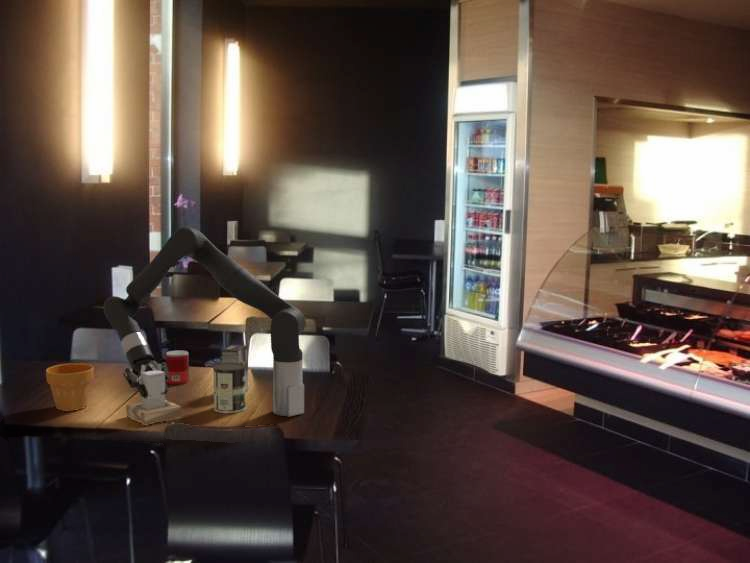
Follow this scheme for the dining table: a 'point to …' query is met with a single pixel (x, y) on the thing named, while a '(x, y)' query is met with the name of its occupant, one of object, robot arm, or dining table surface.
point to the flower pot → (70, 384)
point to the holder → (154, 412)
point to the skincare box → (154, 389)
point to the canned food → (177, 367)
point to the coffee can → (229, 387)
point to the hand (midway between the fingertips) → (156, 394)
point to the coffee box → (237, 357)
